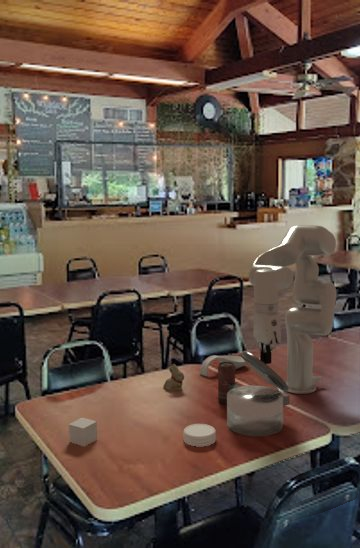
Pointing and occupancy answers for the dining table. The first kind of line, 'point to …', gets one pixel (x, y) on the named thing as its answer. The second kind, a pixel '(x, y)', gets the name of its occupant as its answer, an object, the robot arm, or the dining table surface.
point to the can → (225, 380)
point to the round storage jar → (255, 409)
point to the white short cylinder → (199, 435)
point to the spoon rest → (233, 359)
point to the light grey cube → (83, 431)
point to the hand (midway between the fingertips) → (265, 363)
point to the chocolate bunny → (174, 379)
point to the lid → (264, 371)
